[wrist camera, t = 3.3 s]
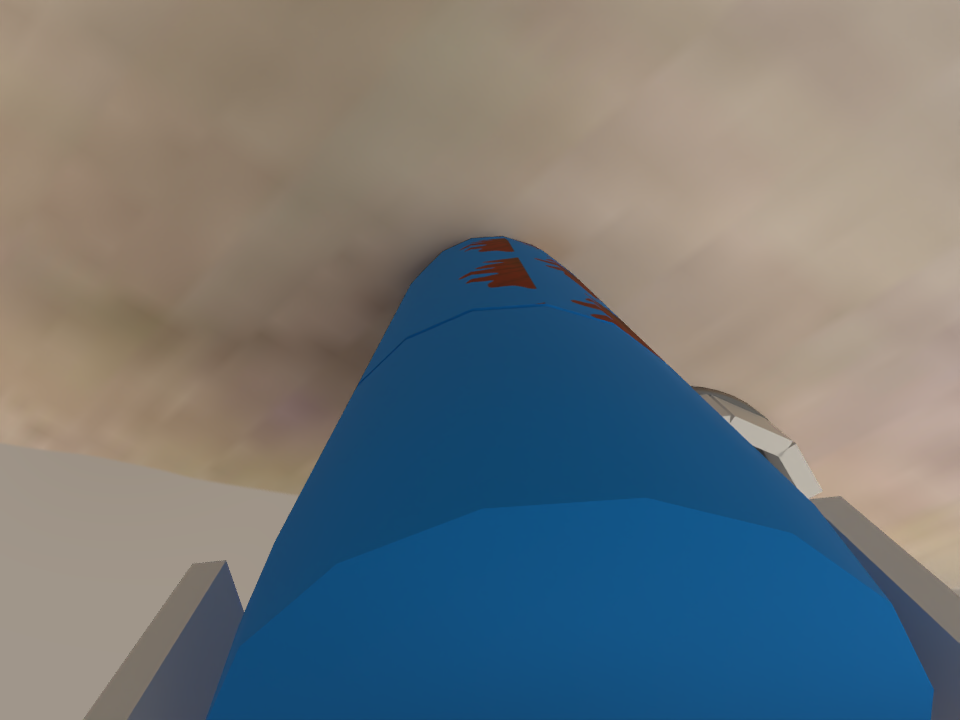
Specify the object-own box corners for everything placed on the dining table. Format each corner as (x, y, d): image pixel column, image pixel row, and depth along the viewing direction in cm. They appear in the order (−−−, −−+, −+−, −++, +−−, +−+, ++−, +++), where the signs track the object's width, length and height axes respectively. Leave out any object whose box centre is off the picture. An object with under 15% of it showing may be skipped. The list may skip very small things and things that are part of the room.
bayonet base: (538, 399, 33) (547, 429, 29) (800, 373, 32) (844, 399, 29) (551, 600, 38) (560, 646, 35) (773, 579, 38) (806, 623, 34)
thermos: (487, 433, 33) (531, 1043, 10) (366, 321, 31) (30, 806, 7) (615, 324, 31) (1074, 790, 7) (497, 191, 28) (639, 277, 5)
